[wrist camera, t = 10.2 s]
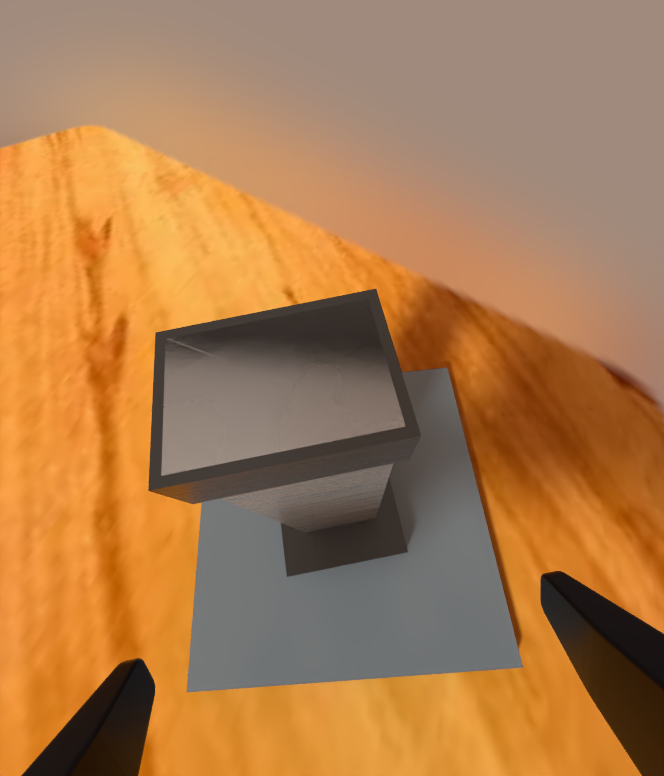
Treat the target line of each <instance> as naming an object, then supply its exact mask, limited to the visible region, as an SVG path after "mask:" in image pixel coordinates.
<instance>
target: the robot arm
mask: <svg viewBox="0 0 664 776" xmlns="http://www.w3.org/2000/svg"><path fill="white" fill-rule="evenodd" d="M541 605H542V608H543V610H544V613H545V615H546V616H547V618H548V620H549V622H550V624H551V626H552V628H553V629H554V631H555V633H556V635H557V637H558V639H559V640H560V642H561V644H562V646H563V648H564V650H565V651H566V653H567V655H568V657H569V659H570V661H571V663H572V664H573V666H574V668H575V670H576V672H577V674H578V675H579V677H580V679H581V681H582V683H583V684H584V686H585V688H586V690H587V691H588V693H589V695H590V696H591V698H592V700H593V701H594V703H595V704H596V706H597V708H598V709H599V711H600V712H601V714H602V715H603V717H604V718H605V720H606V721H607V723H608V724H609V726H610V727H611V729H612V730H613V732H614V734H615V735H616V737H617V738H618V740H619V741H620V743H621V744H622V746H623V747H624V749H625V750H626V752H627V753H628V755H629V757H630V758H631V760H632V761H633V763H634V764H635V766H636V767H637V769H638V770H639V772H640V773H641V775H642V776H664V634H663V633H662V632H660V631H658V630H657V629H655V628H653V627H652V626H650V625H648V624H647V623H645V622H644V621H642V620H640V619H639V618H637V617H635V616H634V615H632V614H631V613H629V612H627V611H626V610H624V609H622V608H621V607H619V606H618V605H616V604H614V603H613V602H611V601H609V600H608V599H606V598H605V597H603V596H601V595H600V594H598V593H596V592H595V591H593V590H591V589H590V588H588V587H587V586H585V585H583V584H582V583H580V582H578V581H577V580H575V579H574V578H572V577H570V576H569V575H567V574H565V573H564V572H561V571H554V572H549V573H545V574H543V575H542V576H541ZM154 696H155V683H154V680H153V678H152V676H151V674H150V672H149V670H148V668H147V666H146V665H145V663H144V661H143V660H142V659H140V658H137V659H132V660H127V661H124V662H122V663H120V664H119V665H118V666H117V667H116V668H115V669H114V670H113V671H112V673H111V674H110V675H109V676H108V677H107V678H106V679H105V681H104V682H103V683H102V684H101V685H100V686H99V687H98V689H97V690H96V691H95V692H94V693H93V694H92V695H91V697H90V698H89V699H88V700H87V701H86V702H85V703H84V705H83V706H82V707H81V708H80V709H79V710H78V712H77V713H76V714H75V715H74V716H73V717H72V718H71V720H70V721H69V722H68V723H67V724H66V725H65V726H64V728H63V729H62V730H61V731H60V732H59V733H58V734H57V736H56V737H55V738H54V739H53V740H52V741H51V742H50V744H49V745H48V746H47V747H46V748H45V749H44V750H43V752H42V753H41V754H40V755H39V756H38V757H37V758H36V760H35V761H34V762H33V763H32V764H31V765H30V766H29V768H28V769H27V770H26V771H25V772H24V773H23V774H22V776H138V774H139V769H140V764H141V760H142V755H143V750H144V745H145V740H146V735H147V730H148V725H149V720H150V715H151V710H152V706H153V701H154Z"/></svg>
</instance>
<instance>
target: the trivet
mask: <svg viewBox="0 0 664 776" xmlns="http://www.w3.org/2000/svg"><path fill="white" fill-rule="evenodd" d="M402 375H403V378H404V381H405V384H406V388H407V391H408V394H409V397H410V401H411V404H412V407H413V410H414V414H415V417H416V420H417V423H418V426H419V430H420V433H421V437H420V439H419V442H418V444H417V446H416V448H415V450H414V452H413V454H412V456H411V458H410V460H408V461H403V462H398V463H393V466H392V469H391V472H390V475H389V478H390V482H391V486H392V490H393V494H394V498H395V502H396V506H397V510H398V514H399V518H400V522H401V526H402V529H403V533H404V537H405V541H406V545H407V549H408V552H407V553H402V554H397V555H392V556H387V557H382V558H378V559H373V560H368V561H363V562H358V563H353V564H348V565H343V566H338V567H334V568H329V569H324V570H319V571H314V572H309V573H304V574H299V575H294V576H290V577H287V575H286V566H285V557H284V548H283V539H282V530H281V523H280V522H277V521H275V520H272V519H270V518H267V517H265V516H262V515H260V514H257V513H255V512H252V511H249V510H247V509H244V508H242V507H239V506H237V505H234V504H232V503H229V502H227V501H224V500H222V499H215V500H210V501H206V502H202V506H201V519H200V532H199V544H198V557H197V570H196V582H195V595H194V608H193V621H192V633H191V646H190V659H189V671H188V684H187V692H197V691H210V690H224V689H237V688H251V687H265V686H278V685H292V684H305V683H319V682H333V681H346V680H360V679H373V678H387V677H400V676H414V675H428V674H441V673H455V672H468V671H482V670H496V669H509V668H523V665H522V661H521V657H520V654H519V650H518V646H517V642H516V638H515V634H514V630H513V626H512V622H511V618H510V614H509V610H508V606H507V602H506V598H505V594H504V590H503V586H502V582H501V578H500V574H499V570H498V566H497V562H496V558H495V554H494V550H493V546H492V542H491V538H490V534H489V530H488V526H487V523H486V519H485V515H484V511H483V507H482V503H481V499H480V495H479V491H478V487H477V483H476V479H475V475H474V471H473V467H472V463H471V459H470V455H469V451H468V447H467V443H466V439H465V435H464V431H463V427H462V423H461V419H460V415H459V411H458V407H457V403H456V399H455V395H454V391H453V388H452V384H451V380H450V376H449V372H448V368H438V369H429V370H419V371H410V372H402Z"/></svg>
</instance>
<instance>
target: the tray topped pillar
mask: <svg viewBox="0 0 664 776" xmlns="http://www.w3.org/2000/svg"><path fill="white" fill-rule="evenodd" d="M420 437H421V433H420V430H419V426H418V423H417V420H416V417H415V414H414V410H413V407H412V404H411V401H410V397H409V394H408V391H407V388H406V384H405V381H404V378H403V375H402V371H401V368H400V365H399V362H398V358H397V355H396V352H395V349H394V345H393V342H392V339H391V336H390V332H389V329H388V326H387V323H386V320H385V316H384V313H383V310H382V307H381V303H380V300H379V297H378V294H377V290H376V289H373V290H367V291H362V292H357V293H352V294H347V295H342V296H337V297H332V298H327V299H322V300H317V301H312V302H307V303H302V304H297V305H292V306H287V307H282V308H277V309H272V310H267V311H262V312H257V313H252V314H247V315H242V316H237V317H232V318H227V319H222V320H217V321H212V322H207V323H202V324H197V325H192V326H187V327H182V328H177V329H172V330H167V331H162V332H157V333H156V338H155V360H154V382H153V404H152V426H151V448H150V470H149V491H151V492H154V493H157V494H161V495H164V496H167V497H171V498H174V499H177V500H181V501H184V502H187V503H191V504H196V503H201V502H206V501H210V500H215V499H222V500H224V501H227V502H229V503H232V504H234V505H237V506H239V507H242V508H244V509H247V510H249V511H252V512H255V513H257V514H260V515H262V516H265V517H267V518H270V519H272V520H275V521H277V522H280V523H281V530H282V539H283V548H284V557H285V566H286V575H287V577H290V576H294V575H299V574H304V573H309V572H314V571H319V570H324V569H329V568H334V567H338V566H343V565H348V564H353V563H358V562H363V561H368V560H373V559H378V558H382V557H387V556H392V555H397V554H402V553H407V552H408V549H407V545H406V541H405V537H404V533H403V529H402V526H401V522H400V518H399V514H398V510H397V506H396V502H395V498H394V494H393V490H392V486H391V482H390V478H389V475H390V472H391V469H392V466H393V463H398V462H403V461H408V460H410V458H411V456H412V454H413V452H414V450H415V448H416V446H417V444H418V442H419V439H420Z"/></svg>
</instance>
